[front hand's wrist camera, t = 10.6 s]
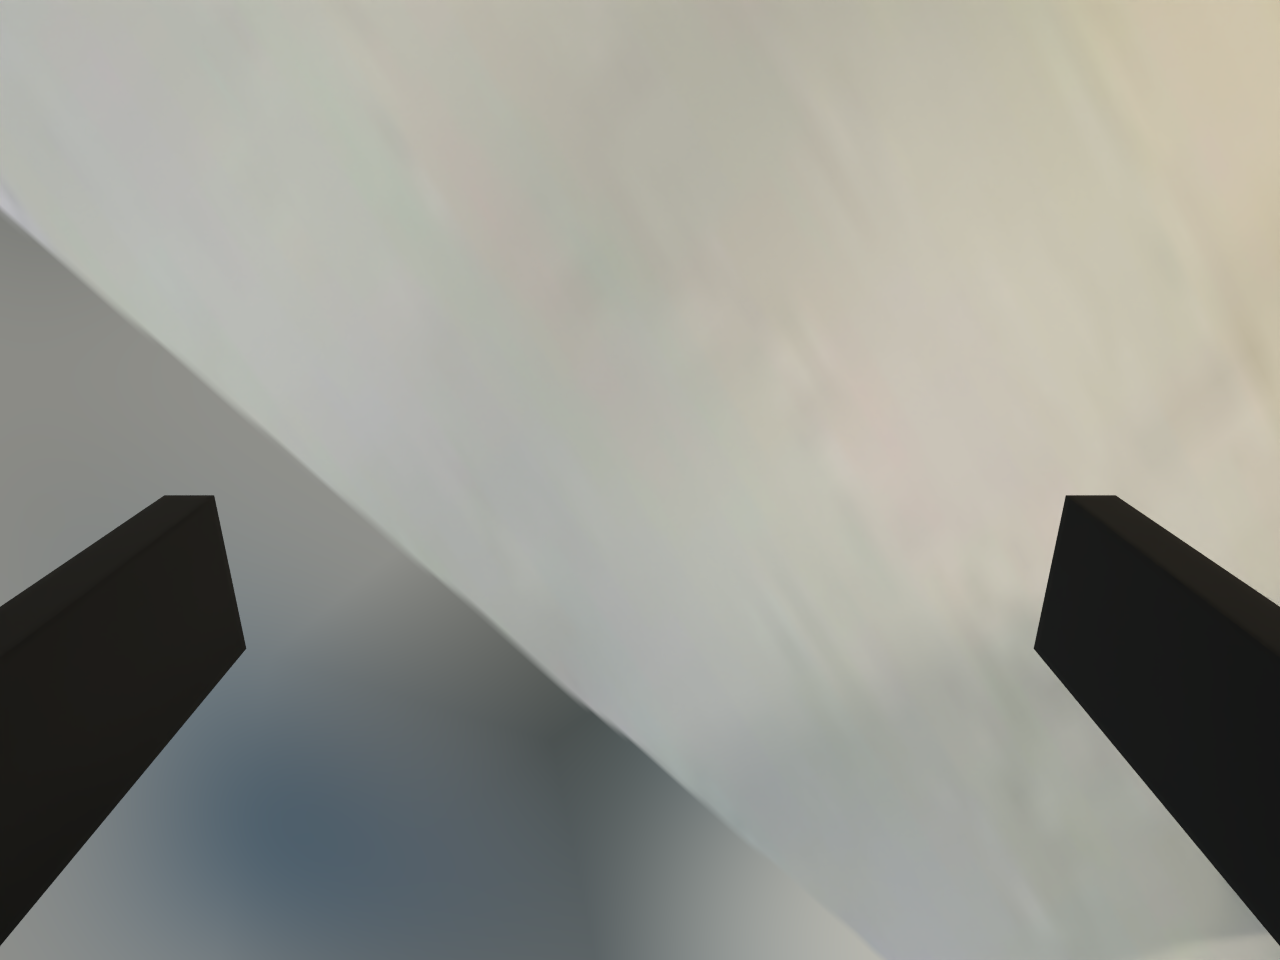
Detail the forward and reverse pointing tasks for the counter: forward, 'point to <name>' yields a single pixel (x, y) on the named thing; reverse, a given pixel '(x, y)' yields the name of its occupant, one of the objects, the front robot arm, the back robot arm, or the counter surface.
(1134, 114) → the counter surface
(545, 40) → the counter surface
